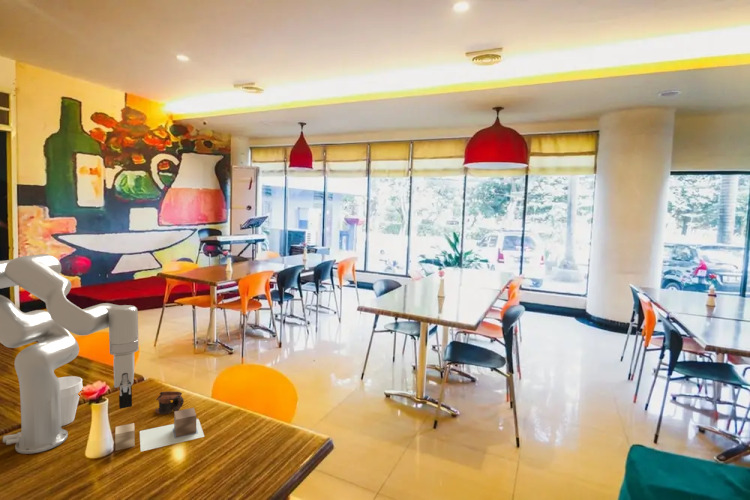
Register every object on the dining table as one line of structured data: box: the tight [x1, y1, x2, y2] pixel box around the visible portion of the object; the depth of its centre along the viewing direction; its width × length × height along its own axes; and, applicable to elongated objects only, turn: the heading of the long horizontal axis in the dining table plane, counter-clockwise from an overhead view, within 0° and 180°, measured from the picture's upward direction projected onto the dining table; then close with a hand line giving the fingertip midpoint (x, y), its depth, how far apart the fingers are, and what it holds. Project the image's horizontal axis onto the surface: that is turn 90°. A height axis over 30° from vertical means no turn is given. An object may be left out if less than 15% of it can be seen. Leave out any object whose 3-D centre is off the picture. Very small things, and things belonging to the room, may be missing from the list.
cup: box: [57, 375, 84, 427], centre depth 137 cm, size 12×12×14 cm
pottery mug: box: [155, 390, 185, 415], centre depth 149 cm, size 12×10×8 cm
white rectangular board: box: [139, 418, 205, 452], centre depth 132 cm, size 18×13×1 cm
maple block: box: [114, 422, 136, 451], centre depth 125 cm, size 5×5×6 cm
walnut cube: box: [173, 407, 197, 437], centre depth 134 cm, size 6×6×6 cm
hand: (125, 400), depth 124 cm, fingers open, 9 cm apart
